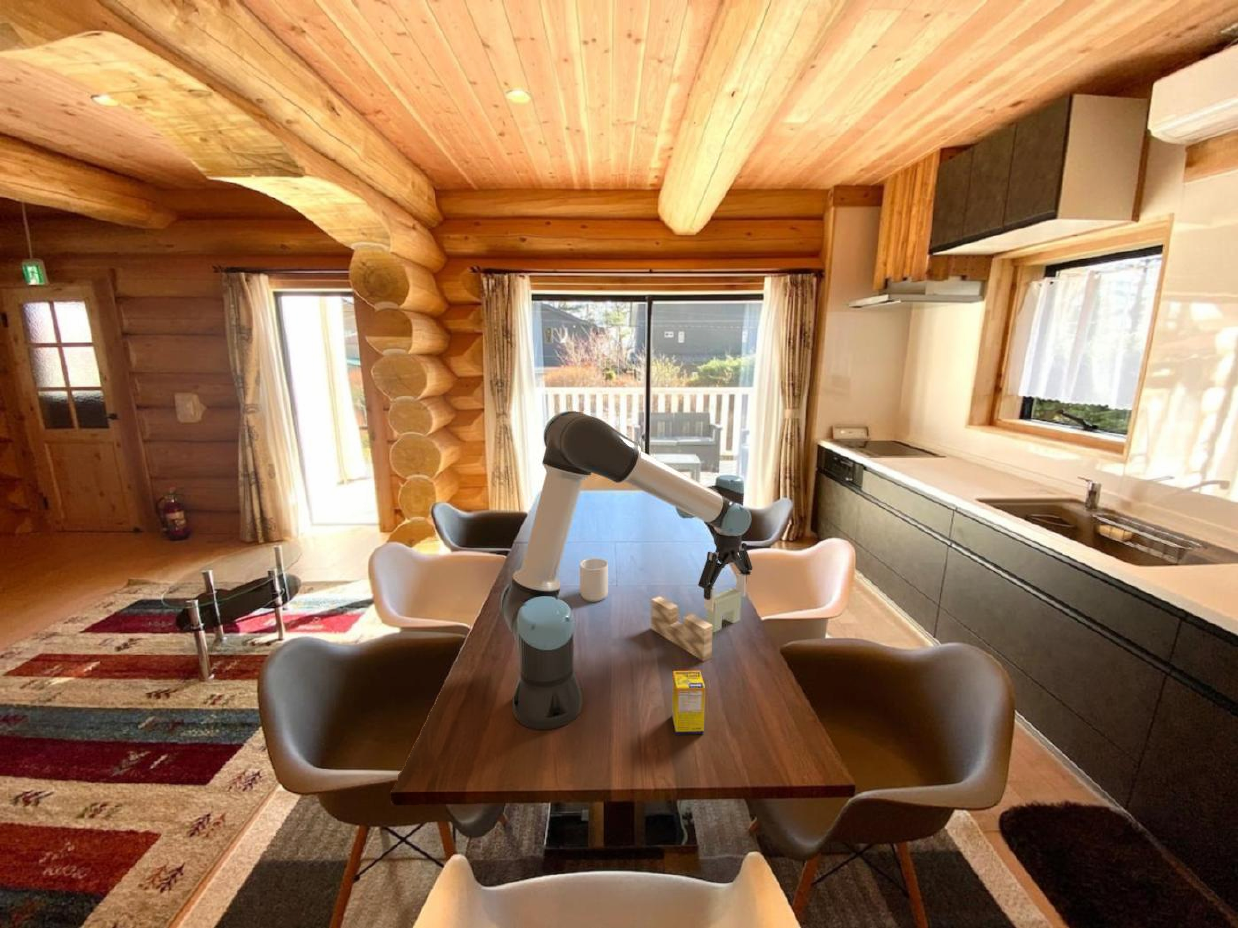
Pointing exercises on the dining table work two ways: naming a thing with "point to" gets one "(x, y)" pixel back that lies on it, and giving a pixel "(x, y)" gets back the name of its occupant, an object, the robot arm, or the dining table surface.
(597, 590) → the mug
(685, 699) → the supplement box
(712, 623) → the sage plate
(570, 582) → the dining table surface
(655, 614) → the birch board
